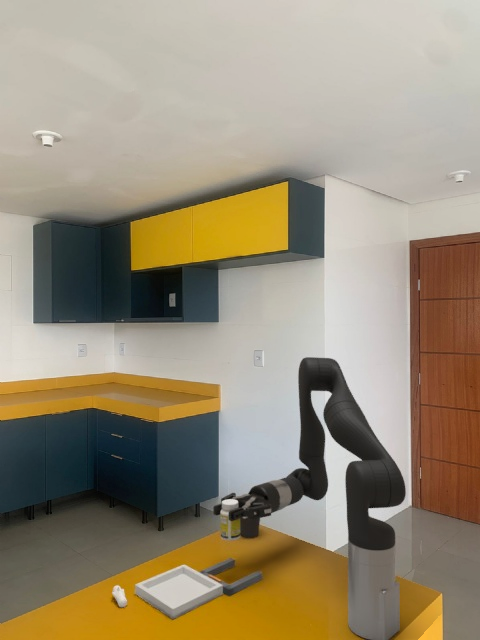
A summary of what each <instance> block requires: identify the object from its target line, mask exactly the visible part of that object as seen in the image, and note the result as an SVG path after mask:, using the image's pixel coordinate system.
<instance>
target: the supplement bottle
mask: <svg viewBox="0 0 480 640" xmlns="http://www.w3.org/2000/svg"><path fill="white" fill-rule="evenodd" d="M237 508H238V501H237V500H234V499H227V500H224V501H222V510H221V511H220V515H219V516H220V517H219V518H220V523H219V524H220V538H221V539H222V540H223V541H229V542H230V541H237V540H239V539H240V538H241V536H240V519H237V520H234V521H229V511H231V510H234V509H237Z"/></svg>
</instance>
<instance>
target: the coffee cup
mask: <svg viewBox="0 0 480 640" xmlns="http://www.w3.org/2000/svg"><path fill="white" fill-rule="evenodd" d="M254 515H256V514H254ZM260 521H261V518H258V519H253V520H250V519H249V517H247V518H240V538H241V537H242V538H244V539H254V538H255V539H256V538H257V537H259V532H260V531H259V530H260Z"/></svg>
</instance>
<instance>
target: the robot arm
mask: <svg viewBox="0 0 480 640" xmlns="http://www.w3.org/2000/svg"><path fill="white" fill-rule="evenodd" d="M297 374H298V375H297V376H298V377H297V379H298V403H299V404H298V405H299V418H300V422H299V423H300V437H299V446H298V447H299V449H298V450H299V451H298V459H299V461H300V462H301V463H302V464H303V465H304V466H305V467H307V468H305V467H304V468H303V467H299V468H295V469H294V470H293V471H292V472H290V473H289V474H288V475H287V476H286V477H282V478H280V479H274V480H270V481H266V482H263V483H260V484H257V485H254V486H253V487H251V488H250V490H249V491H248V493H245V494H242V495H239V496H237V495H236V493H235V492H232V493H229V494H227V495H226V496H224V497H221V499H220V503H218V504H215V505H214V506H213V508H212V509H213V515H214V516H220V511H221V510H222V501H224V500H227V499H234V500H237V501H238V508H237V509H234V510H231V511H229V521H234V520H237V519H240V518H247V517H249V519H250V520H253V519H258V518H260V519H261V518H267V517H271V516H272V514H273V513H276V512H279V511H281V510H283V509H285V508H286V507H288V506H289V507H290V506H292V505H294V504H296V503H298V502H300V501H301V499H303V497H307V498H309V499H311V500H314V501H320V500H322V499H324V497H325V496H326V495H327V492H328V489H329V488H328V487H329V478H328V472H327V467H326V462H325V447H326V432H325V429H324V426H323V424H322V422H321V420H320V418H319V417H318V415H317V413H316V411H315V408H314V406H313V402H312V392H328V393H331V395H330V397H329V398H328V400H327V401H326V404H325V406H324V408H323V413H322V416H323V420H324V424H325V425H326V428H327V430H328V432H329V435H330V437H332V439H333V440H334V442H336V444H338V445H339V446H341V447H342V448H343V449H345V450H346V451H348V452H349V453H350V454H352V455H354V457H355V456H356V457H357V458H359V459H360V460H354V461H350V462H349V463H348V464H347V467H346V471H345V479H344V480H345V498H346V499H345V501H346V523H347V534H348V535H347V553H348V555H347V610H348V611H347V616H348V617H347V624H348V628H349V629H350V630H351V632H352V633H353V634H355V635H357V636H359V637H361V638H364V639H366V640H390V639H391V638H393V636H395V635H396V634H397V633H398V632H400V631H401V630H400V628H401V627H400V626H401V625H400V624H401V621H400V617H401V616H400V615H401V613H400V607H401V606H400V602H401V601H400V600H401V599H400V593H401V592H400V591H401V589H400V585H401V584H400V582H399V581H397V580H396V531H395V528H394V527H392V525H390V524H389V523H388V522H385V521H384V520H381V519H377V518H374V517H372V516H370V513H369V509H384V508H385V509H386V508H387V509H388V508H393V507H397V506H398V507H399V506H400V505H402V504H403V502H404V501H405V498H406V494H407V492H406V490H407V489H406V484H405V479H404V476H403V475H402V472H401V471H402V470H400V467H399V466H398V464H397V463H396V461H395V459H394V458H393V457H392V456H391V454H390V453H389V452H388V450H386V448H385V447H384V445H383V444H382V443H381V442H380V439H379V438H378V437H377V435H376V434H375V432H374V430H373V428H372V426H371V425H370V423H369V422H368V419H367V418H366V415H365V414H364V411H363V410H362V408H361V407H360V405H359V404H358V402H357V400H356V398H355V396H354V395H353V393H352V391H351V389H350V387H349V386H348V382H347V379H346V378H345V376H344V373H343V370H342V369H341V366H340V363H338V361H337V360H336V359H335V358H331V357H330V358H329V357H313V356H312V357H309V356H308V357H307V356H306V357H303V358H302V360H301V361H300V363H299V367H298V373H297ZM254 514H256V515H254Z"/></svg>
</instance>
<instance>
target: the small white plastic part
mask: <svg viewBox="0 0 480 640" xmlns="http://www.w3.org/2000/svg"><path fill="white" fill-rule="evenodd" d="M111 594H112V596H113V597H114V599H115V600H116V602H117V604H118V606H119V608H125V607H126V606H127V604H128V600H127V598H126V594H125V589H124V588H122V587H121V586H120V585H119V584H117V585H115V586H113V588H112V592H111Z"/></svg>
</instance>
